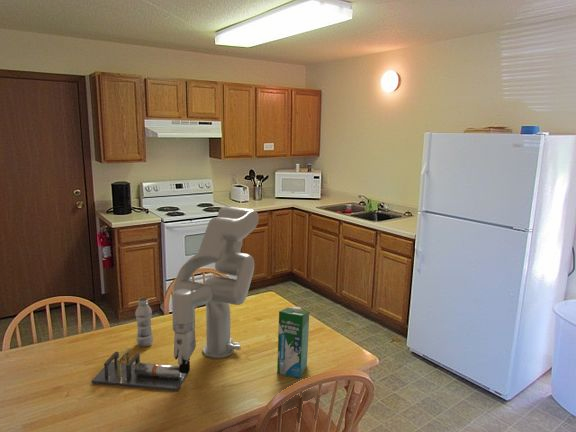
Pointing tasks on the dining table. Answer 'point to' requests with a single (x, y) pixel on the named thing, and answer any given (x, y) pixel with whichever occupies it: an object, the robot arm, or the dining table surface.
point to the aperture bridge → (122, 357)
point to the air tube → (158, 370)
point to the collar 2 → (128, 366)
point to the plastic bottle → (144, 323)
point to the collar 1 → (106, 364)
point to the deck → (138, 379)
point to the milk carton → (293, 341)
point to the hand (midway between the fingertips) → (184, 372)
